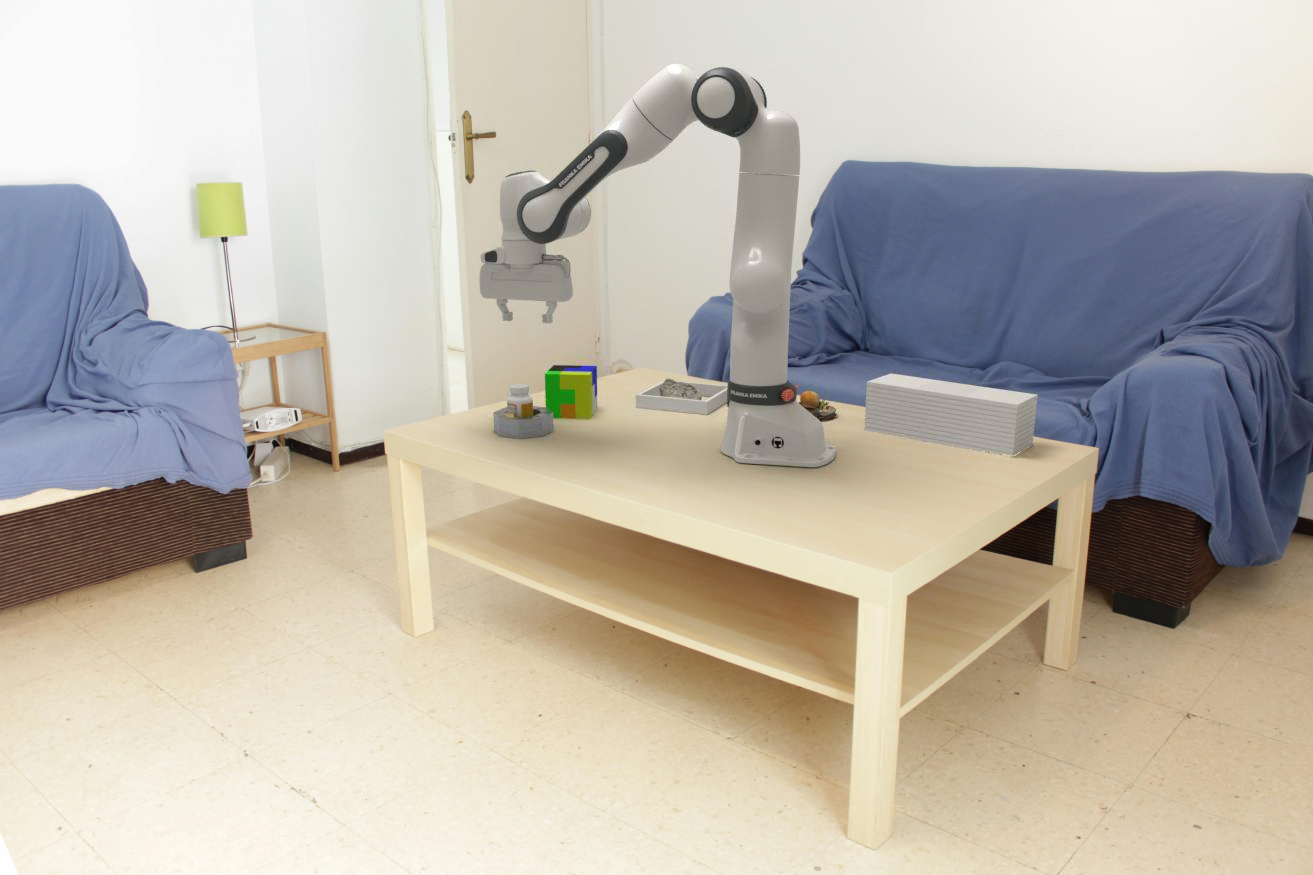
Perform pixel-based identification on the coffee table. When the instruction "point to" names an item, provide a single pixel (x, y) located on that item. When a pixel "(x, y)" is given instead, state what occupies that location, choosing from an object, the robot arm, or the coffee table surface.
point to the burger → (817, 406)
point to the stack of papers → (951, 413)
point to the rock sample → (679, 390)
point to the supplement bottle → (520, 400)
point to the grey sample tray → (655, 401)
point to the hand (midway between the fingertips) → (527, 321)
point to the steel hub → (523, 423)
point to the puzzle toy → (571, 391)
